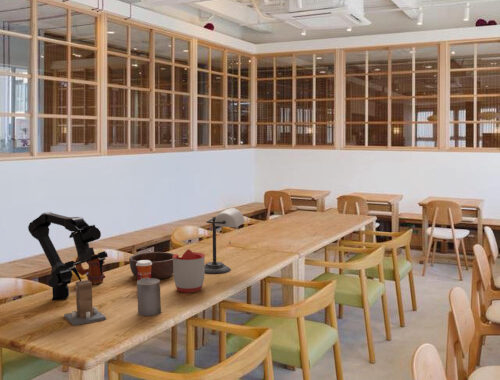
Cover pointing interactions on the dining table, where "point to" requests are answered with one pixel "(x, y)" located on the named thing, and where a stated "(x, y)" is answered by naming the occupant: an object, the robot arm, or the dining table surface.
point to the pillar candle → (148, 296)
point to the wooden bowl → (154, 264)
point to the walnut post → (84, 298)
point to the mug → (91, 271)
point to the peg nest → (76, 320)
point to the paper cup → (144, 269)
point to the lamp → (223, 219)
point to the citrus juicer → (189, 271)
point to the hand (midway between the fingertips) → (91, 278)
